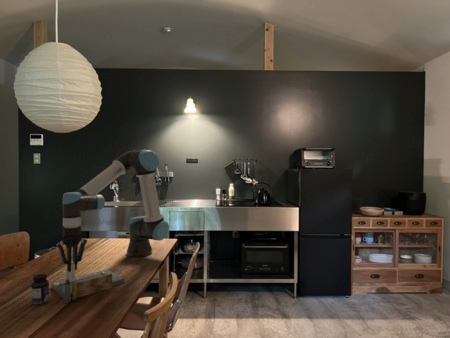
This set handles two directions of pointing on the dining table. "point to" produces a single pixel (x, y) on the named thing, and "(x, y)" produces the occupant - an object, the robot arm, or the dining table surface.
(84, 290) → the door
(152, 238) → the robot arm
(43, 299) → the pill bottle
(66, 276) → the fader knob
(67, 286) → the hinge bracket
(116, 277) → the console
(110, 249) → the dining table surface
